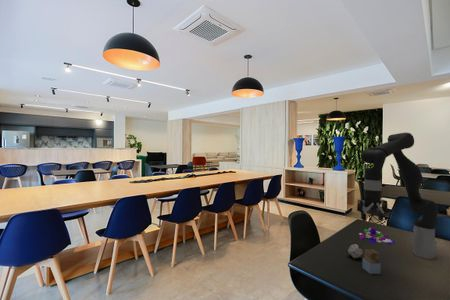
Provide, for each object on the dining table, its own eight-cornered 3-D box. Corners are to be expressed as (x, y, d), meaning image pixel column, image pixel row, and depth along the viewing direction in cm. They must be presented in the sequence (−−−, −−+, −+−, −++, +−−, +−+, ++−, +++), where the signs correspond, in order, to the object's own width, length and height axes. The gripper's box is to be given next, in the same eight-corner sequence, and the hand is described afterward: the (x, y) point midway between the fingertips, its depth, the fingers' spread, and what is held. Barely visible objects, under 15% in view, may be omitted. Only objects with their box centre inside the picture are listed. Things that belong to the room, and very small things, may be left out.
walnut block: (372, 258, 113) (372, 249, 113) (379, 263, 109) (379, 253, 109) (364, 258, 113) (364, 249, 113) (370, 263, 109) (370, 253, 109)
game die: (358, 265, 123) (369, 256, 117) (343, 258, 124) (353, 249, 118) (357, 252, 130) (366, 243, 124) (342, 245, 131) (351, 236, 125)
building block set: (385, 248, 139) (385, 241, 139) (352, 236, 156) (352, 230, 156) (401, 240, 152) (401, 233, 152) (369, 230, 169) (369, 224, 169)
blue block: (372, 267, 114) (372, 258, 114) (380, 273, 108) (380, 263, 108) (362, 267, 114) (362, 258, 114) (369, 273, 108) (369, 263, 108)
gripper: (380, 187, 115) (380, 218, 115) (354, 187, 114) (353, 218, 114) (392, 190, 107) (391, 223, 107) (363, 190, 107) (363, 222, 107)
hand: (372, 220), depth 111 cm, fingers open, 8 cm apart
